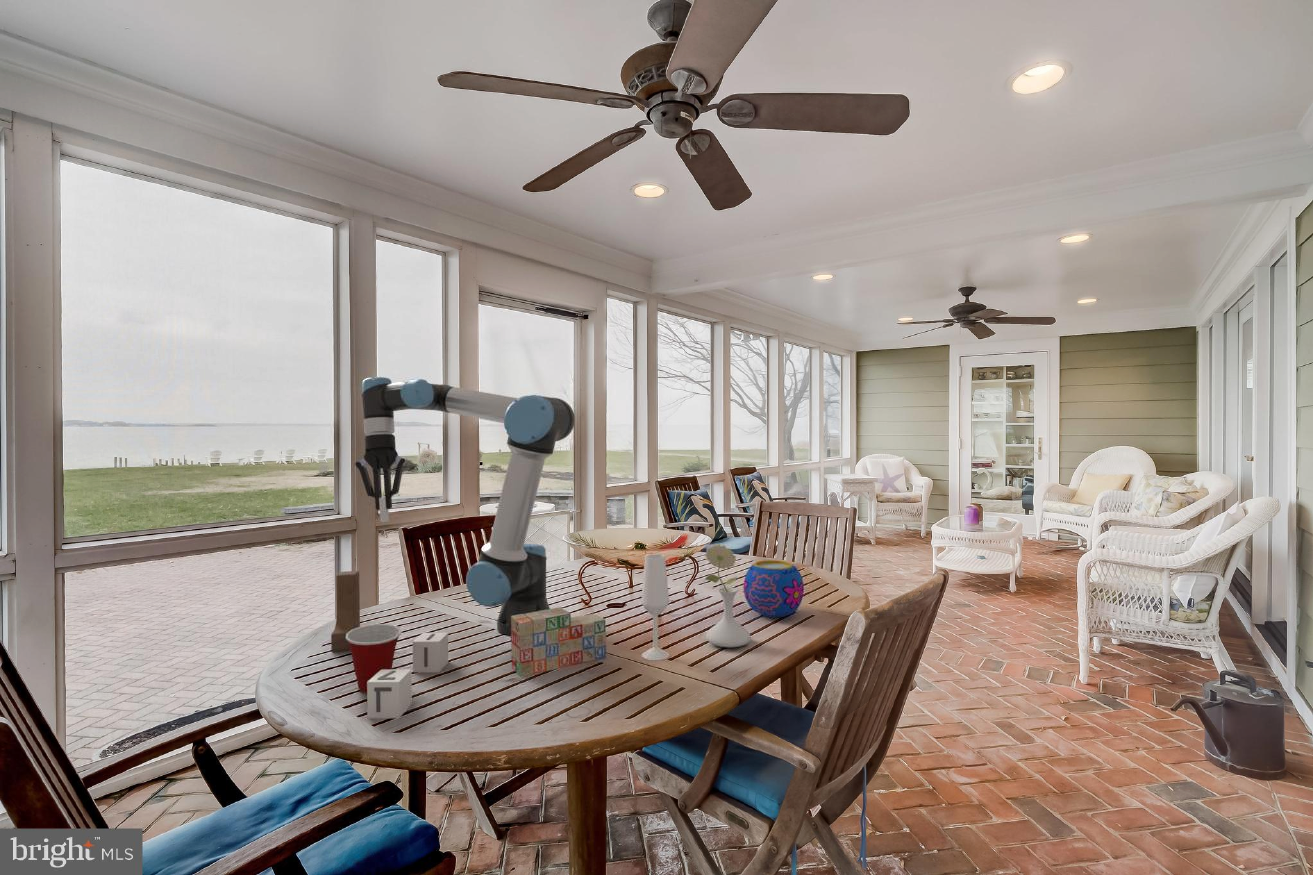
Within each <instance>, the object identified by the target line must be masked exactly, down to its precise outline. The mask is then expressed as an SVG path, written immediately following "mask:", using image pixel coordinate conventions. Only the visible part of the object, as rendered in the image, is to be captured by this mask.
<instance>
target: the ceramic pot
mask: <svg viewBox="0 0 1313 875" xmlns="http://www.w3.org/2000/svg"><path fill="white" fill-rule="evenodd" d="M742 589H743V594H744V598H745V600H746V602H747V604H748V605H749V607H750V608H751V609H752V610H753V611H754V612H756V613H757V614H760V615H762V616H764V617H768V618H781V617H782V618H783V617H787V616H789V615H791V614H793V613H794V612H797V610H798V609H799V607H800V605H801V603H802V601H803V598H804V592H805V584H804V579H803V576H802V573H800V571H799V569H798V567H796V566H795V565H794V564H793V563H791V562H789V561H783V560H777V559H775V560H772V559H771V560H760V561H756V562H754V563H753V564H751V565H750V566H749V567H748V569H747V571H746V573H745V576H744V581H743V587H742Z"/></svg>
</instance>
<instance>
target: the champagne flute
mask: <svg viewBox="0 0 1313 875" xmlns="http://www.w3.org/2000/svg"><path fill="white" fill-rule="evenodd" d="M666 565H667V564H666V556H665V554H659V553H655V554H654V553H652V554H650V553H649V554H647V555H645V556H644V567H643V579H642V590H641V591H642V592H641V605H642V606H643V608H644V609H645V610H646V611H647V612H648V613H649V614H650V615H652V647H651V648H649V649H648V650H646V651H645V652H642V655H641V657H642V658H643V659H645V660H649V661H662V660H666V659H668V658H669V657H670V653H669V652H668V651H665V650H664V649H662V648H661V647H659V615H661V614H662V613H663V612H664V611H665V610H666V609H667V608H668V605H669V604H670V595H669V587H668V576H667V566H666Z"/></svg>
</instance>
